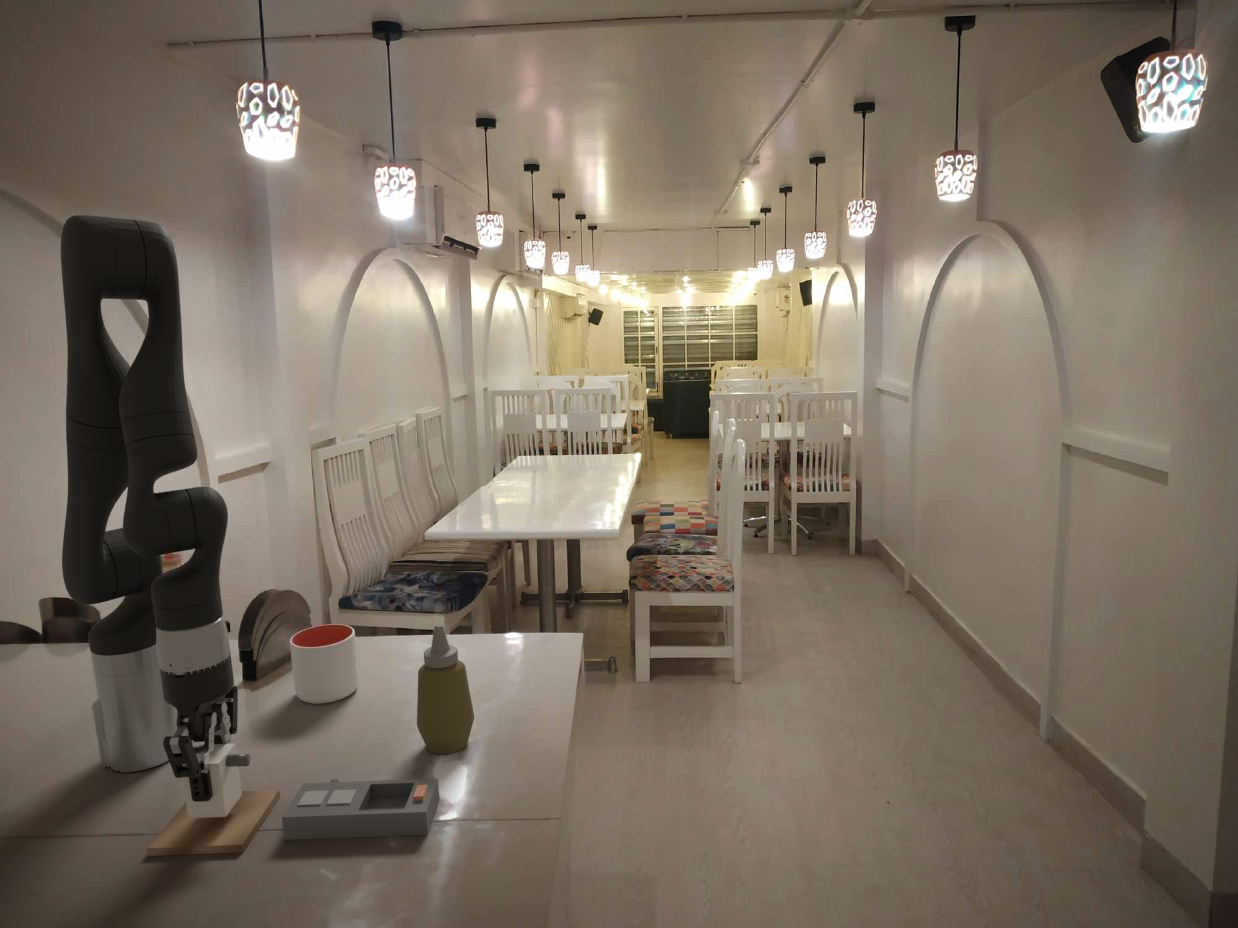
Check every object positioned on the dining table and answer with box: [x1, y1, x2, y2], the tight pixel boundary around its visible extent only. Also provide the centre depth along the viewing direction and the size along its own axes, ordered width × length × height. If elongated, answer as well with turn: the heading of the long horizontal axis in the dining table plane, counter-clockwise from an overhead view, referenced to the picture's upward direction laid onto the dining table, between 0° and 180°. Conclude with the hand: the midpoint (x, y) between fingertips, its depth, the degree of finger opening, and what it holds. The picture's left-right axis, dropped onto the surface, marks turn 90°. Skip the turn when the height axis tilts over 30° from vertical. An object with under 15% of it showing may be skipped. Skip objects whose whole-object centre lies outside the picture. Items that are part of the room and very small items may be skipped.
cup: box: [289, 623, 360, 705], centre depth 134 cm, size 10×10×10 cm
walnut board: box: [146, 789, 281, 857], centre depth 100 cm, size 11×11×1 cm
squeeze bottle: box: [416, 624, 475, 755], centre depth 116 cm, size 8×8×18 cm
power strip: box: [281, 777, 440, 841], centre depth 102 cm, size 17×11×4 cm, turn 91°
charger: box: [182, 743, 251, 818], centre depth 99 cm, size 7×4×7 cm, turn 91°
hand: (212, 786), depth 99 cm, fingers closed on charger, 4 cm apart
